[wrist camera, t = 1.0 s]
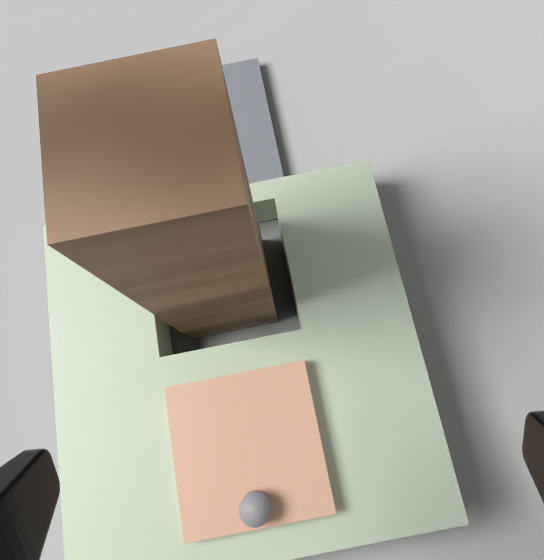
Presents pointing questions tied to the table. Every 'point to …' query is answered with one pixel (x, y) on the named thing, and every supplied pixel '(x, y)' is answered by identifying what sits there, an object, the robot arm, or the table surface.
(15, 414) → the table surface
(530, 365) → the table surface
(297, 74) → the table surface
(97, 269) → the walnut block
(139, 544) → the puzzle board
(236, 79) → the grey mat
